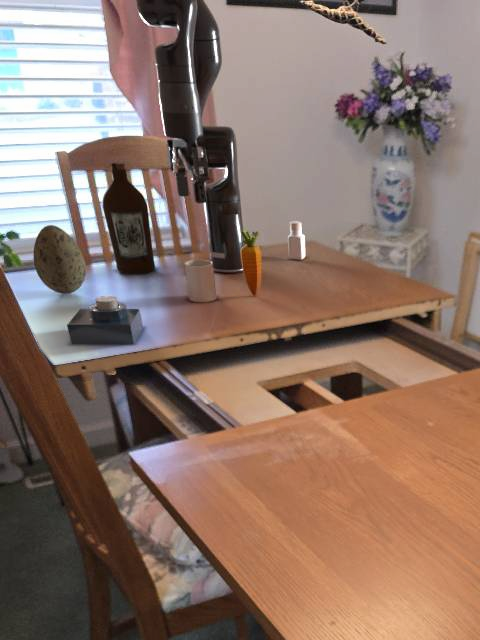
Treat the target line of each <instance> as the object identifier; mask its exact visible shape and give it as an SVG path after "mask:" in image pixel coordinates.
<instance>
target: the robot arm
mask: <svg viewBox="0 0 480 640" xmlns="http://www.w3.org/2000/svg"><path fill="white" fill-rule="evenodd" d="M135 4H136V9H137V11H138V12H137V13H138V14H139V16H140V18H141V19H142V21H143V22H144V23H145V24H147V25H148V26H149V27H153V28H160V29H161V28H163V29H176V38H175V39H174V40H173V41H170V42H165V43H161V44H158V45H156V46H155V48H154V61H155V69H156V76H157V81H158V82H157V83H158V98H159V99H158V100H159V105H160V112H161V121H162V127H163V134H164V136H165V137H167V138H168V139H166V141H165V142H166V151H167V160H168V168H169V171H170V172H172V173H173V176H174V177H175V182H176V189H177V190H176V191H177V195H178V196H179V197H189V196H190V190H189V181H188V176H187V175H188V174H189V175H190V178H191V181H192V187H193V196H194V202H195V203H196V204H203V207H204V214H205V215H204V216H205V223H206V232H207V240H208V241H207V242H208V247H209V258H210V261H211V262H213V269H214V272H216V273H222V274H235V273H241V272H243V268H242V261H241V253H240V250H241V248H242V247H243V246H246V244H245V243H244V242H243V241H242V240H245V239H244V237H243V235H242V233H241V231H242V230H244V222H243V212H242V201H241V191H240V181H239V168H238V165H239V164H238V162H239V161H238V144H237V143H238V142H237V137H236V134H235V131H234V129H233V128H232V127H231V126H223V125H222V126H221V125H219V126H218V125H204V124H203V115H204V110H205V107H206V103H207V101H208V98H209V95H210V93H211V91H212V89H213V86H214V85H215V83H216V80H217V78H218V77H219V74H220V71H221V68H222V64H223V55H222V45H221V36H220V28H219V26H218V22H217V21H216V19H215V16H214V14H213V13H212V11H211V9H210V8H209V6H208V4H207V3H206V1H205V0H135ZM209 170H224V171H225V172H224V175H222V176H221V177H220V178H219V179H217V180H215V181H212V182H211V183H208V184H205V183H206V182H207V181H210V173H209V172H210V171H209ZM255 233H256V231H251V238H252V237H253V236H254V234H255Z"/></svg>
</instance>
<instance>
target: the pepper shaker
mask: <svg viewBox="0 0 480 640" xmlns="http://www.w3.org/2000/svg"><path fill="white" fill-rule="evenodd" d="M289 230H290V234H288V236H287V245H288V246H287V247H288V258H289V259H290V260H299V261H301V260H303V259H304V258H306V239H305V237H306V235H305V234H303V231H302V221H295V220H294V221H293V220H292V221H290V222H289Z"/></svg>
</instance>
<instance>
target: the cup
mask: <svg viewBox="0 0 480 640" xmlns="http://www.w3.org/2000/svg"><path fill="white" fill-rule="evenodd" d="M183 268H184V274H185V275H184V276H185V282H186V287H187V296H188V300H190V302H195V303H208V302H213V301H215V300H217V298H218V295H217V287H216V278H215V277H216V276H215V271H214V269H213V262H211V260H208V259H190V260H186V261H184V263H183Z"/></svg>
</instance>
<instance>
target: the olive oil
mask: <svg viewBox="0 0 480 640" xmlns="http://www.w3.org/2000/svg"><path fill="white" fill-rule="evenodd" d="M125 166H126V164H125V163H124V162H121V161H113V162H110V167H111V169H110V171H111V175H112V182H111V183H110V185H109V186H108V187H107V189H106V190H105V192H104V194H103V197H102V210H103V214H104V218H105V222H106V225H107V230H108V234H109V239H110V243H111V247H112V251H113V256H114V260H115V264H116V270H117V271H118V272H119V273H122V274H127V275H140V274H146V273H150V272H153V271H154V270H155V268H156V265H155V258H154V257H155V256H154V252H153V251H154V250H153V242H152V234H151V227H150V226H151V225H150V216H149V215H150V214H149V209H148V203H147V201H146V199H145V196H144V195H143V194H142V192H141V191H139V189H138V188H136V187H135V186H134V184H132V182H130V180H129V179H128V173H127V169H126V167H125Z"/></svg>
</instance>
